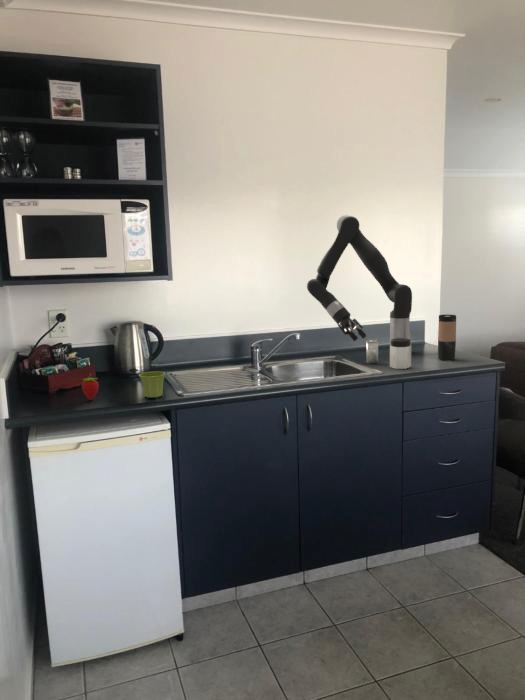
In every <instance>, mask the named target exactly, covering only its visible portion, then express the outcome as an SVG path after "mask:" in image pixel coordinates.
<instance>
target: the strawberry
mask: <svg viewBox="0 0 525 700" xmlns="http://www.w3.org/2000/svg"><path fill="white" fill-rule="evenodd" d="M91 375H92V373H90V375H89V376H88V377H87V378H83V379H82V383H81V390H82V392H83V394H84V395H85V397H87V399H88V400H89V399H93V400H94V398H95V397H96V395H97V393H98V391H99V387H100V385H99V382H98V381H97V380H98V378H97V377H90V376H91Z"/></svg>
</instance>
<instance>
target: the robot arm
mask: <svg viewBox="0 0 525 700" xmlns="http://www.w3.org/2000/svg"><path fill="white" fill-rule="evenodd" d="M336 229H337V232H338V233H337V236H336V237H335V240H334V242H333V243H332V244H331V246H330V248H329V249H328V250H327V251H326V253H325V254H324V255H323V258H322V259H321V261H320V263H319V265H318V267H317V269H316V272H317V275H316V277H315V278H311V279H310V280H308V281H307V283H306V289H307V291H308V293H309V294H310V295H311V296H312V298H314V299H315V300H317V302H319V304H320V305H322V307H323V308H324V310H325V311H326V312H327V313H328V315H329V316H330V317H331V319H333V321H334V322H335V323H336V324H337V327H338V328H339V329H340V331H342V333H343V334H344V335H345V336H346V335H347V336H349V338H351V340H352V341H354V342H356V341H357V340H358V339H359V338H358V336H357V335H356V334H355V333H354V332H357V334H358V335H359V336H360V337H361V338H362V339H365V338H366V337H367V334H366V333H365V331H363V330H362V329H363V328H364V327H363V326H362V325H361V323H360V322H359V321H358V320H357V319H356V318H353V319H351V313H350V312H349V311H348V309H347V308H346V307H345V306H344V305H343V303H342V302H341V301H339V300H338V299H337V298H336V297H335V295H334V294H332V292H330V291H329V290H328V289H327V287H328V285H329V282H330V278H331V276H332V274H333V272H334V270H335V268H336V267H337V264H338V262H339V260H340V258H341V257H342V255H343V253H344V252H345V250H346V248H347V247H348V246H349V245H350V246H352V249H353V250H354V252H355V253H356V255H357V256H358V258H359V259H360V260H361V262H362V263H363V265H364V266H365V267H366V269H367V270H368V271H369V272H370V274H371V275H372V277H374V279H375V280H376V281H377V283H379V285H380V286H381V288H382V290H383V292H384V293H385V295H386V297H387V298H388V299H389V300H390V301H391V302H392V303H393V309H392V310H391V311H390V312H389V313H390V314H389V347H390V346H391V339H396V338H405V339H410V345H411V346H412V333H411V332H410V323H411V322H410V319H411V317H410V316H411V312H412V306H413V305H412V304H413V292H412V288H411V287H410V286H408V285H407V284H400V283H399V282H398V281H397V280H396V279H395V278H394V276H393V275H392V274H391V271H390V268H389V265H388V262H387V260H386V258H385V256H384V255H383V254H382V253H381V251H380V250H379V249H378V248H377V247H376V246H375V245H374V244H373V243H372V241H370V240H369V239H368V238H367V237H366V236H365V235H364V234H363V233H362V231H361V230H360V221H359V220H358V218H356V217H355V216H352V215H348V214H347V215H346V214H345V215H342V216H340V217H339V218H338V219H337V221H336Z"/></svg>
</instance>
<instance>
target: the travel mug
mask: <svg viewBox="0 0 525 700" xmlns="http://www.w3.org/2000/svg"><path fill="white" fill-rule="evenodd" d="M437 331H438V335H437V353H438V354H437V359H438V360H439V359H440V360H439V361H444V360H451V361H455V360H454V359H456V345H457V315H456V314H439V315H438V329H437Z"/></svg>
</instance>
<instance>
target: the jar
mask: <svg viewBox="0 0 525 700" xmlns="http://www.w3.org/2000/svg"><path fill="white" fill-rule="evenodd" d="M409 367H410V368H411V367H412V344H411V345H410V339H405V338H396V339H391V346H390V345H389V368H392V369H396V370H407V368H408V369H409Z"/></svg>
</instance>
